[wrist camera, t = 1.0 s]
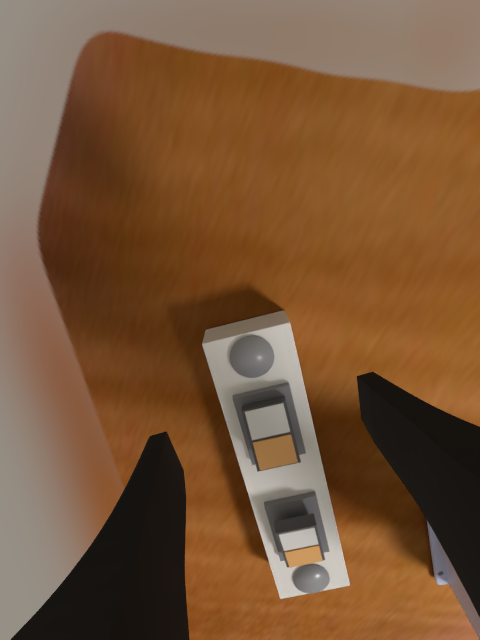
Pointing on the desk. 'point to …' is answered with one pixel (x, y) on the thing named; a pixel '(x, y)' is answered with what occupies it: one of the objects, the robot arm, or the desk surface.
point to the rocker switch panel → (307, 476)
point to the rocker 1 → (270, 434)
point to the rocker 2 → (299, 540)
